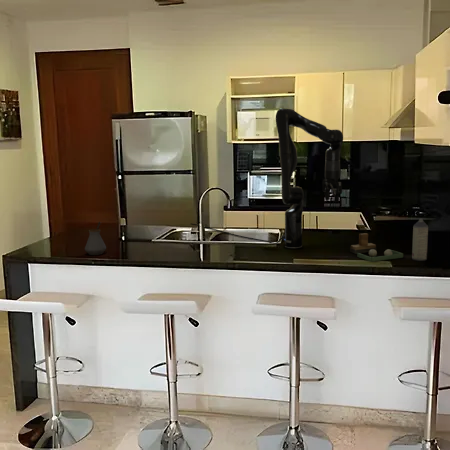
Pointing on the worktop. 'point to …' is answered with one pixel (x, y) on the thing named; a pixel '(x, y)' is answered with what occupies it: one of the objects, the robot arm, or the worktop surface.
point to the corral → (395, 255)
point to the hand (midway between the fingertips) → (331, 200)
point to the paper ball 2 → (388, 252)
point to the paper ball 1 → (372, 253)
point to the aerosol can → (420, 241)
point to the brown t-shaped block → (362, 245)
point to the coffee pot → (95, 242)
